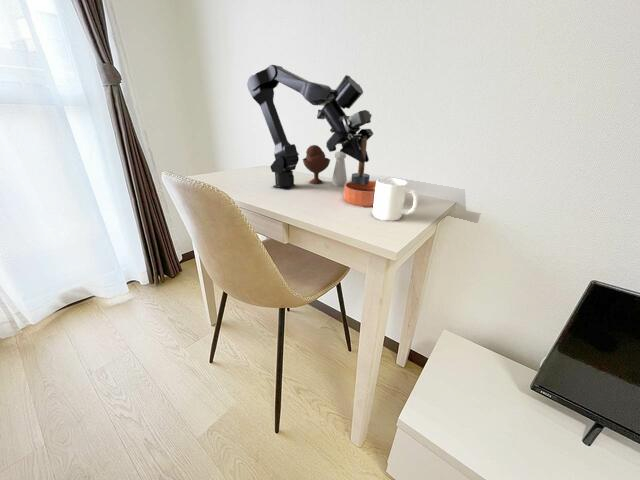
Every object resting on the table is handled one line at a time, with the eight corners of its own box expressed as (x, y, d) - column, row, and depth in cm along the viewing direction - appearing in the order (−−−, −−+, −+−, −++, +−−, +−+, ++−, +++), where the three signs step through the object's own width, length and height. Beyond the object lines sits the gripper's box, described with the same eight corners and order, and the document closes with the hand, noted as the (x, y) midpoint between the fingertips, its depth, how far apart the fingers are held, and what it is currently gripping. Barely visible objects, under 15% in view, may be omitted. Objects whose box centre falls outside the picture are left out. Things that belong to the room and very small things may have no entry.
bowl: (336, 202, 85) (337, 188, 83) (351, 191, 97) (352, 178, 94) (379, 210, 80) (381, 194, 77) (389, 197, 91) (392, 183, 89)
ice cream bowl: (329, 186, 103) (330, 146, 97) (301, 185, 104) (301, 146, 97) (329, 179, 113) (330, 143, 106) (303, 179, 113) (303, 142, 106)
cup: (378, 208, 81) (383, 176, 76) (417, 217, 75) (424, 182, 70) (367, 216, 75) (371, 182, 70) (409, 226, 69) (416, 189, 64)
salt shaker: (343, 182, 108) (344, 150, 102) (348, 186, 104) (350, 152, 98) (330, 183, 107) (331, 150, 101) (334, 187, 102) (336, 153, 96)
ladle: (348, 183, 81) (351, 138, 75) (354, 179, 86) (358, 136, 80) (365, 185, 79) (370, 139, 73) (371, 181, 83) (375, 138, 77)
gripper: (336, 98, 67) (369, 146, 66) (371, 100, 80) (399, 141, 79) (313, 129, 75) (342, 172, 74) (348, 126, 88) (373, 163, 87)
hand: (365, 161), depth 79 cm, fingers closed on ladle
